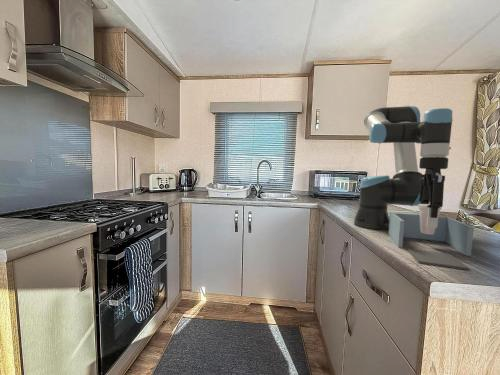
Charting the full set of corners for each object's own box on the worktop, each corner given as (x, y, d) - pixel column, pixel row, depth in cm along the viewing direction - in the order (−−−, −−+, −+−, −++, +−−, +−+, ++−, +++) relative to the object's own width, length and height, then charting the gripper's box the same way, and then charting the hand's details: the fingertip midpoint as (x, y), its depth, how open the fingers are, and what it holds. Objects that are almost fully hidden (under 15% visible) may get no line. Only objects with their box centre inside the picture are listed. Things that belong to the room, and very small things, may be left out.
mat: (407, 250, 75) (407, 248, 75) (449, 255, 71) (450, 253, 71) (418, 263, 65) (418, 261, 65) (468, 270, 61) (468, 267, 61)
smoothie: (440, 233, 80) (444, 192, 79) (437, 236, 75) (441, 194, 74) (417, 229, 84) (420, 191, 83) (414, 232, 80) (417, 192, 79)
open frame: (388, 234, 93) (390, 212, 93) (447, 240, 87) (449, 217, 86) (398, 247, 78) (400, 220, 77) (470, 256, 71) (473, 227, 70)
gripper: (462, 155, 67) (454, 233, 69) (436, 158, 85) (430, 220, 87) (430, 155, 70) (424, 230, 72) (412, 158, 88) (407, 218, 90)
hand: (427, 224), depth 80 cm, fingers closed on smoothie, 6 cm apart
